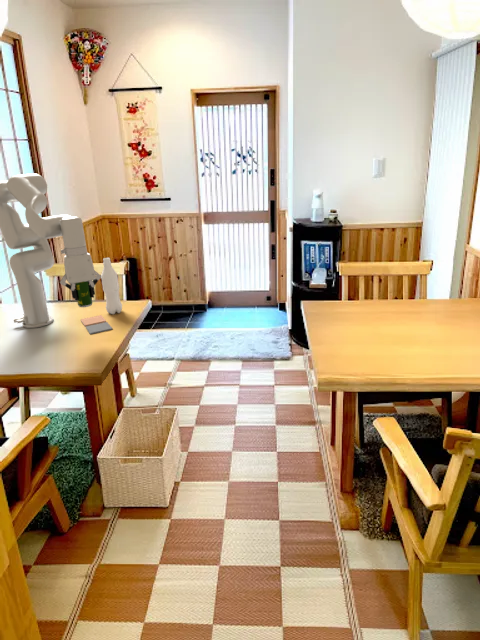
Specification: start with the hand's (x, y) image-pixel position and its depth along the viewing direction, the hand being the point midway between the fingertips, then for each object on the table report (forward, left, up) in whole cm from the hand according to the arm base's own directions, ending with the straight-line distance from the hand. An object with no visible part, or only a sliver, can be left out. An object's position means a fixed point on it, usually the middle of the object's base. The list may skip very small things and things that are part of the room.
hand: (84, 297), depth 176 cm
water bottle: (+16, +27, -17) cm, 36 cm away
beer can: (0, 0, -3) cm, 3 cm away
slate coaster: (+5, +10, -17) cm, 20 cm away
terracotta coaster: (+5, +21, -17) cm, 27 cm away
